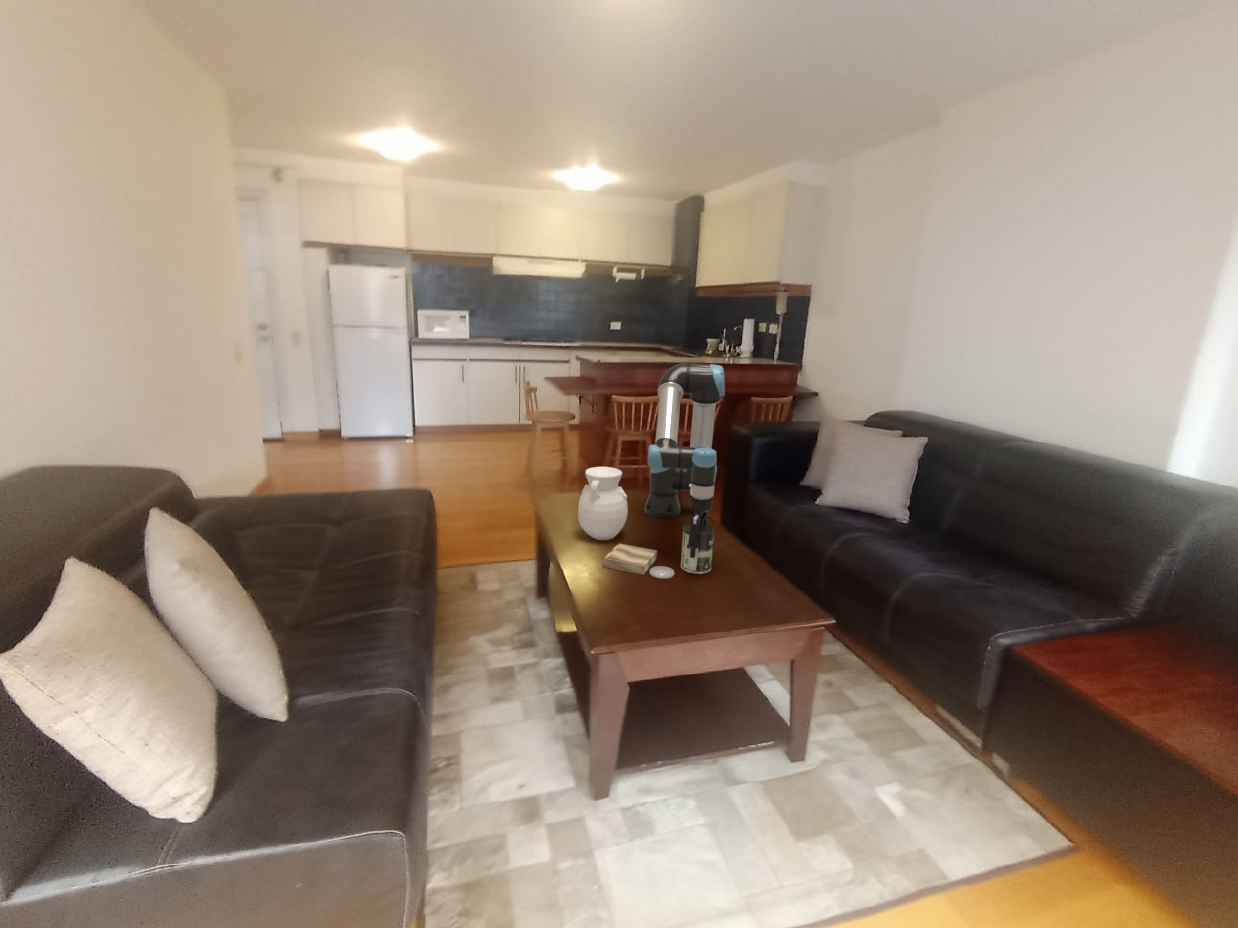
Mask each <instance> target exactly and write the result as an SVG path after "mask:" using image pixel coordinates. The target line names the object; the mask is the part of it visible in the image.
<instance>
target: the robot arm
mask: <svg viewBox="0 0 1238 928" xmlns="http://www.w3.org/2000/svg"><path fill="white" fill-rule="evenodd" d="M659 380H660V381H659V383H658V385H657V396H658V397H659V401H658V402H659V403H658V413H657V421H656V430H655V431H656V432H655V440H654V441H655V443H654V444H650V445H649V446H648V450H647V451H648V452H647V453H648V454H647V464H648V466H649V467H650V468H651V469H650V471H649V473H650V482H649V483H650V484H649V495H648V497H647V500H646V502H645V504H644V513H645V514H646V515H648V516H650V517H652V518H658V519H659V518H660V519H672V518H678V517H679V516H680V515H681V510H682V508H681V504H680V501H679V497H678V494H679V492H678V491H685V492H687V491H688V492H689V494H690V495H689V501H688V506H689V508H690V509H692V510H694V513H692V517H691V518H690V523H691V528H690V535H689V542H688V545H687V547H688V548H689V559H688V566H693V567H697V556H698V539H699V535H698V533H700V530H701V528H702V527H703V525H704V526H705V524H708V522H709V520H708V518H709V517H708V516H709V513H708V512H709V511H711V510H712V509H713V503H714V498H713V497H714V493H715V483H716V477H717V471H718V466H717V462H718V461H717V459H718V458H717V451H716V450H715V449H713V448H712V446H713V445H712V444H713V437H714V426H715V417H716V416H715V415H716V406H717V404H718V403H720V402H721V398H722V397H724V396H725V395H726V394H725V393H726V387H725V386H726V385H725V372H724V367H723V366H722V365H719V364H713V363H688V362H682V363H678V364H675V365H673V366H672V367H669V369H667V371H666V372H665V373H664V374H662V377H661V378H660V379H659ZM684 395H689V399H690V401H691V402H692V404H693V405H692V416H691V417H692V418H691V427H690V428H691V429H690V441H689V443H690V444H689V446H678V437H679V435H678V434H679V424H680V423H679V421H680V412H681V411H680V408H681V399H682V398H683V396H684ZM708 525H709V524H708Z"/></svg>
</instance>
